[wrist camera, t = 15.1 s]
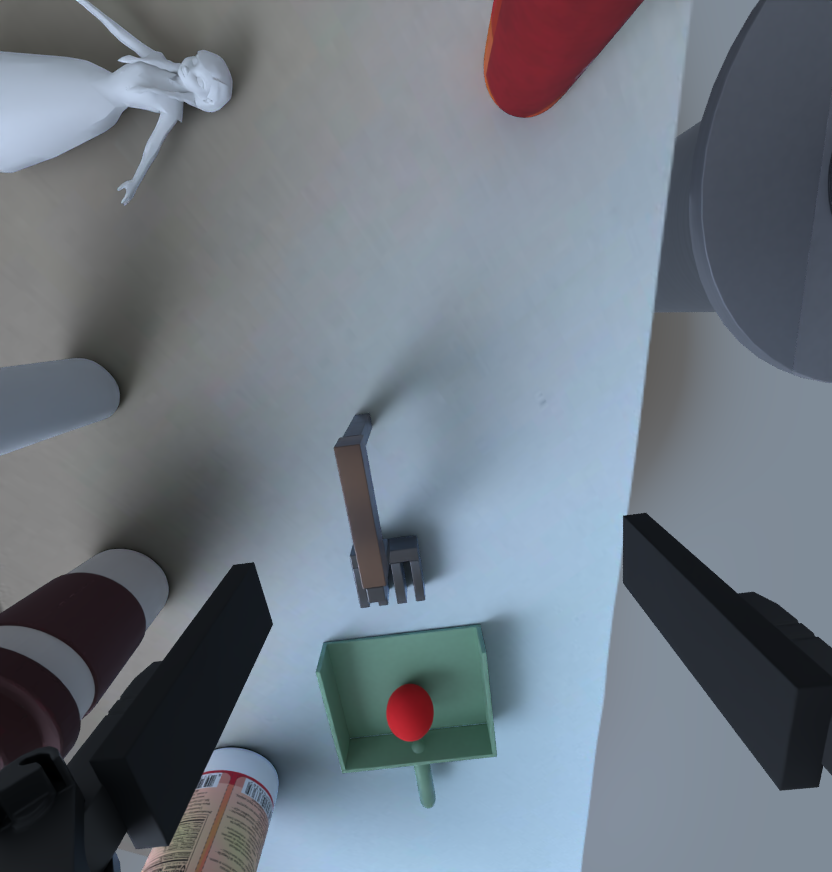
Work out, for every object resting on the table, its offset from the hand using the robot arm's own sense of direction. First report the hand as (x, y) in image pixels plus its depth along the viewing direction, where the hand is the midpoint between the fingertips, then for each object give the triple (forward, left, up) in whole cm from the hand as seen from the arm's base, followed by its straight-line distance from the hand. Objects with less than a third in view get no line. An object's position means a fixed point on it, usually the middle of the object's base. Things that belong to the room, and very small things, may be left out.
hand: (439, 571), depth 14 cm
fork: (+5, +6, -18) cm, 20 cm away
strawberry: (+5, +26, -16) cm, 31 cm away
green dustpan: (+5, +29, -18) cm, 35 cm away
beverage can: (+25, -7, -19) cm, 31 cm away
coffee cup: (+28, +10, -19) cm, 35 cm away
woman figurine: (+18, -24, -19) cm, 35 cm away
